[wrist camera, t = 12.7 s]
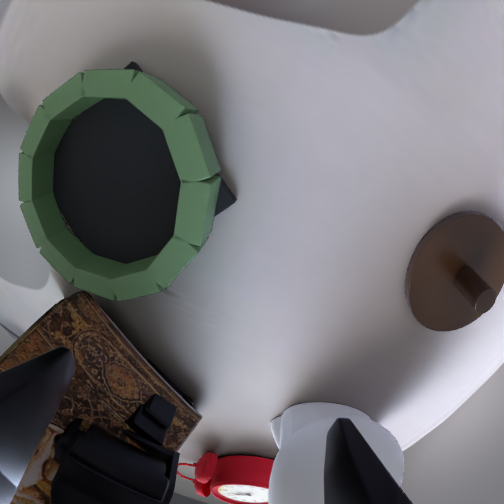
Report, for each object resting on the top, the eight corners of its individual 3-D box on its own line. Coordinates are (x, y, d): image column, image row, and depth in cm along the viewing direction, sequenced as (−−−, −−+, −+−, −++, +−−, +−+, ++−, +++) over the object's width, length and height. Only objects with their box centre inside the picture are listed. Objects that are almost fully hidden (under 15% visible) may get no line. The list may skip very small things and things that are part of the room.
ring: (111, 312, 21) (96, 329, 19) (16, 166, 17) (-5, 173, 15) (270, 217, 17) (267, 231, 15) (140, 28, 13) (121, 17, 11)
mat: (120, 283, 21) (116, 287, 20) (40, 170, 18) (35, 171, 18) (237, 199, 18) (235, 202, 17) (136, 62, 15) (131, 60, 14)
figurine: (316, 366, 22) (322, 554, 8) (412, 398, 23) (448, 535, 9) (254, 431, 26) (233, 565, 13) (343, 453, 27) (348, 567, 14)
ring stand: (423, 344, 20) (440, 378, 17) (385, 254, 18) (405, 285, 14) (510, 286, 18) (535, 311, 14) (488, 187, 15) (524, 203, 11)
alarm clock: (288, 509, 29) (176, 511, 26) (281, 474, 35) (176, 474, 32) (313, 485, 25) (172, 490, 22) (301, 442, 30) (173, 442, 28)
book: (210, 422, 24) (70, 591, 7) (177, 412, 28) (53, 560, 10) (84, 283, 19) (-95, 480, 2) (69, 291, 23) (-83, 456, 6)
